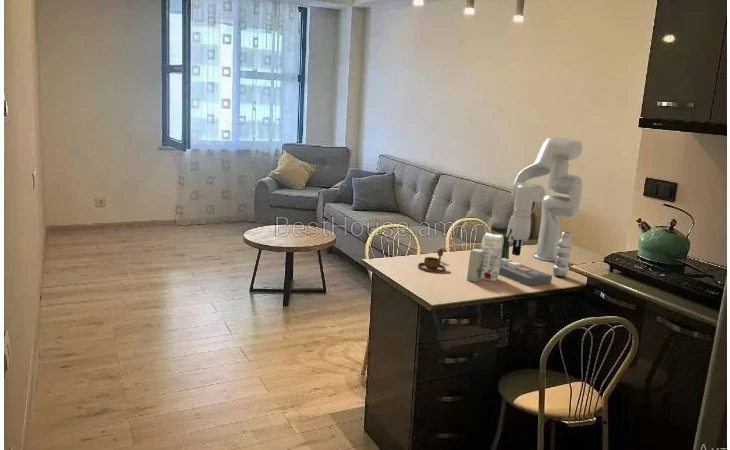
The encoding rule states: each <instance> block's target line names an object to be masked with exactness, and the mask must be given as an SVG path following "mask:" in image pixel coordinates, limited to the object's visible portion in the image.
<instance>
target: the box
mask: <svg viewBox="0 0 730 450" xmlns="http://www.w3.org/2000/svg"><path fill="white" fill-rule="evenodd" d="M469 254H470V255H469V261H468V269H467V274H466V276H467V277H466V280H467V281H469V282H474V283H477V282H479V281H481V280H482V279H481V272H482V265H483V257H484V250H481V249H478V248H473V249H471V250H470V253H469Z"/></svg>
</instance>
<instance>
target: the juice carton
mask: <svg viewBox="0 0 730 450" xmlns="http://www.w3.org/2000/svg"><path fill="white" fill-rule="evenodd" d="M503 243H504V240H503V235H494V234H491V232H485V234H483V236H482V241H481V245H480V250H484V257H483V265H482V272H481V280H483V281H490V282H496V280H497V279H498V277H499V275H500V274H499V272H500V265H501V258H502V251H503Z"/></svg>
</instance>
